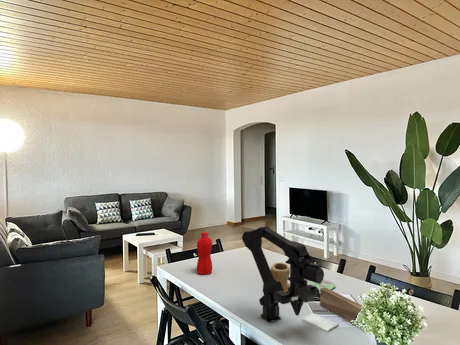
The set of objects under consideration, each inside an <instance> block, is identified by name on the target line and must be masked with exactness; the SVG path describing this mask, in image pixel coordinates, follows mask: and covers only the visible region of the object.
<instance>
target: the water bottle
mask: <svg viewBox="0 0 460 345" xmlns="http://www.w3.org/2000/svg"><path fill="white" fill-rule="evenodd" d="M212 248H213V240H212V238H210V237H209V232H201V233H200V237H199V238H198V240H197V242H196V249H197V253H198V256H197V257H198V259H197V264H196V273H197V274H198V275H202V276H203V275H206V276H208V275H210V274H211V273H212V272H213V262H212V257H211V253H212Z"/></svg>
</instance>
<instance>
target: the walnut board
mask: <svg viewBox="0 0 460 345" xmlns="http://www.w3.org/2000/svg"><path fill="white" fill-rule="evenodd" d="M319 304H320V305H319V306H321V307H322V306H323V308H324V309H326V310H328V311H329V310H330V311H329V312H332V313H333V314H334V315H336V316H338V317H340V318H341V319H344V320H345V321H347V322H348V323H350V321H351V320H356V318H357V315H358V313H359V312H360V311H361V306H363V305H362V304H360V303H358V302H355V301H354V300H351V299H350V298H348V297H345V296H344V295H341V294H339V293H337V292H335V291H333V289H331V290H330V289H328V288H325V287H324V288H320V295H319Z"/></svg>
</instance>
